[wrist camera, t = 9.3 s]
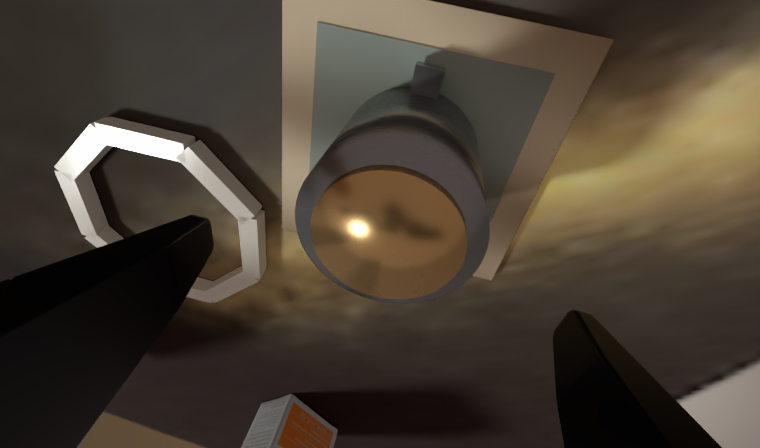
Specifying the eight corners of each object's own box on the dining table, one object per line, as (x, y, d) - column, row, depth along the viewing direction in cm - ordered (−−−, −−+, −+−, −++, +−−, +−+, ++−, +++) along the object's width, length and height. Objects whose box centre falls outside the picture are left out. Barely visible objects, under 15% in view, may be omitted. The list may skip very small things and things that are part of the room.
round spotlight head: (509, 80, 12) (545, 143, 7) (447, 241, 17) (445, 346, 12) (355, 44, 12) (293, 84, 8) (334, 212, 17) (286, 304, 12)
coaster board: (490, 275, 18) (491, 281, 17) (285, 224, 18) (281, 229, 18) (609, 38, 11) (615, 40, 11) (287, -31, 12) (281, -31, 11)
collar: (268, 305, 22) (261, 316, 22) (110, 265, 23) (99, 274, 22) (262, 152, 16) (253, 160, 15) (44, 100, 17) (25, 106, 16)
